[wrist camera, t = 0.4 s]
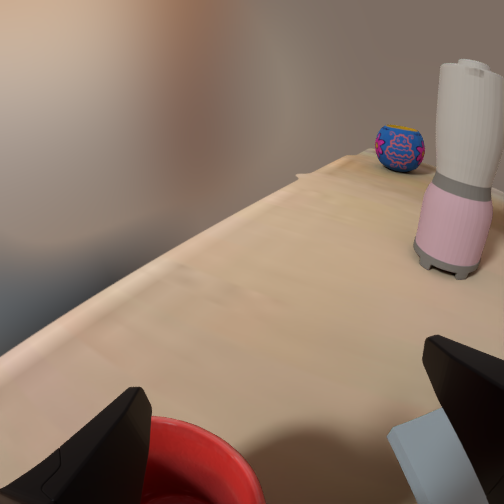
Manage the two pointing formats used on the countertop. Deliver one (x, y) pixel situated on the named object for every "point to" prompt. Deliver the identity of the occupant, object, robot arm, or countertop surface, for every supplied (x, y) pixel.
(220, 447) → the flower pot
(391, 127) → the ceramic pot
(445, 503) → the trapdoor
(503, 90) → the blender
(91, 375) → the countertop surface
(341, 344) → the countertop surface
